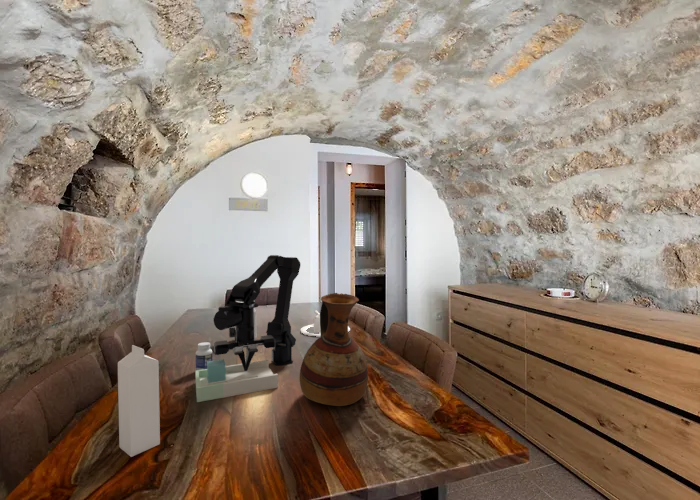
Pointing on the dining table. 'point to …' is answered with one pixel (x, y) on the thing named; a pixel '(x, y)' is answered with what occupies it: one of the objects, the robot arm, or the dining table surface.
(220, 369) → the block
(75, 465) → the dining table surface
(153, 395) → the milk
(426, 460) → the dining table surface
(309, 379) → the ceramic pitcher
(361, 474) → the dining table surface
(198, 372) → the box
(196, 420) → the dining table surface
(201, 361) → the pill bottle
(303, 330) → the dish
